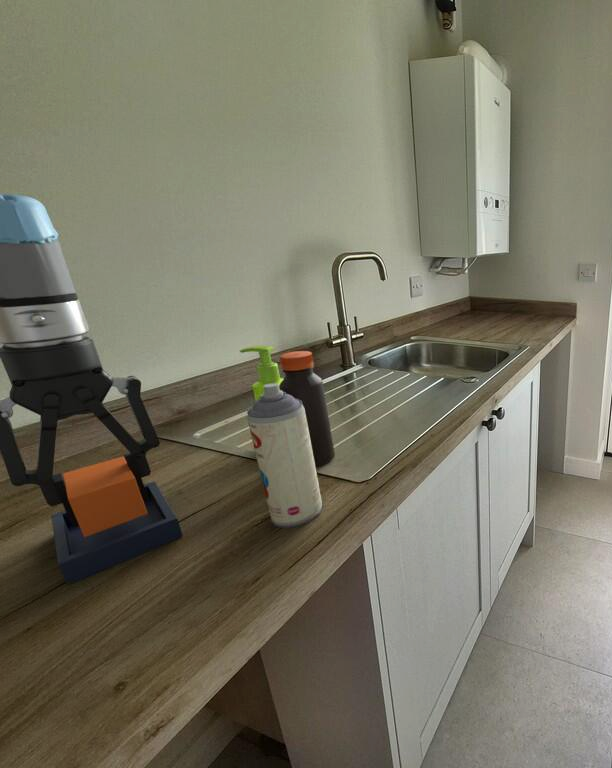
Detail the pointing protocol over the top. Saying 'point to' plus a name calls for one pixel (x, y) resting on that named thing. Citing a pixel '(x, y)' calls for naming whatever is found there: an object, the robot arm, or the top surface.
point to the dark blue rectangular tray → (114, 538)
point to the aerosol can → (285, 457)
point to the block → (103, 495)
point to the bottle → (309, 401)
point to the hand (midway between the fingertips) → (111, 509)
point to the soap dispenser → (264, 369)
